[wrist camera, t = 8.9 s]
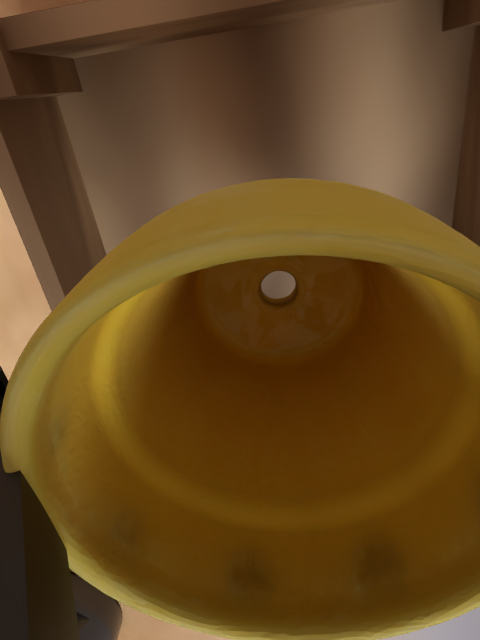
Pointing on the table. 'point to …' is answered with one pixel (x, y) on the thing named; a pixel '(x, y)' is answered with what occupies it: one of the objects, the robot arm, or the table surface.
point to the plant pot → (265, 416)
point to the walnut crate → (229, 113)
